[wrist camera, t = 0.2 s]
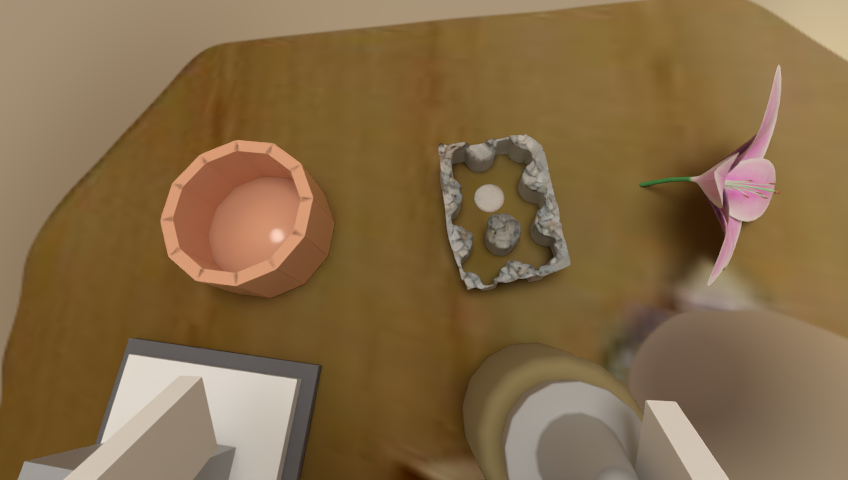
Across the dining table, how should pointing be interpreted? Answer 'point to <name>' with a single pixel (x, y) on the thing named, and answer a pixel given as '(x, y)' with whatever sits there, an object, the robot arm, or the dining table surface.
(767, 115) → the lily
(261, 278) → the bowl
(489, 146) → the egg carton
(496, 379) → the squeeze bottle
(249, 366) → the rubber mat
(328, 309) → the dining table surface
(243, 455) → the cover sheet
